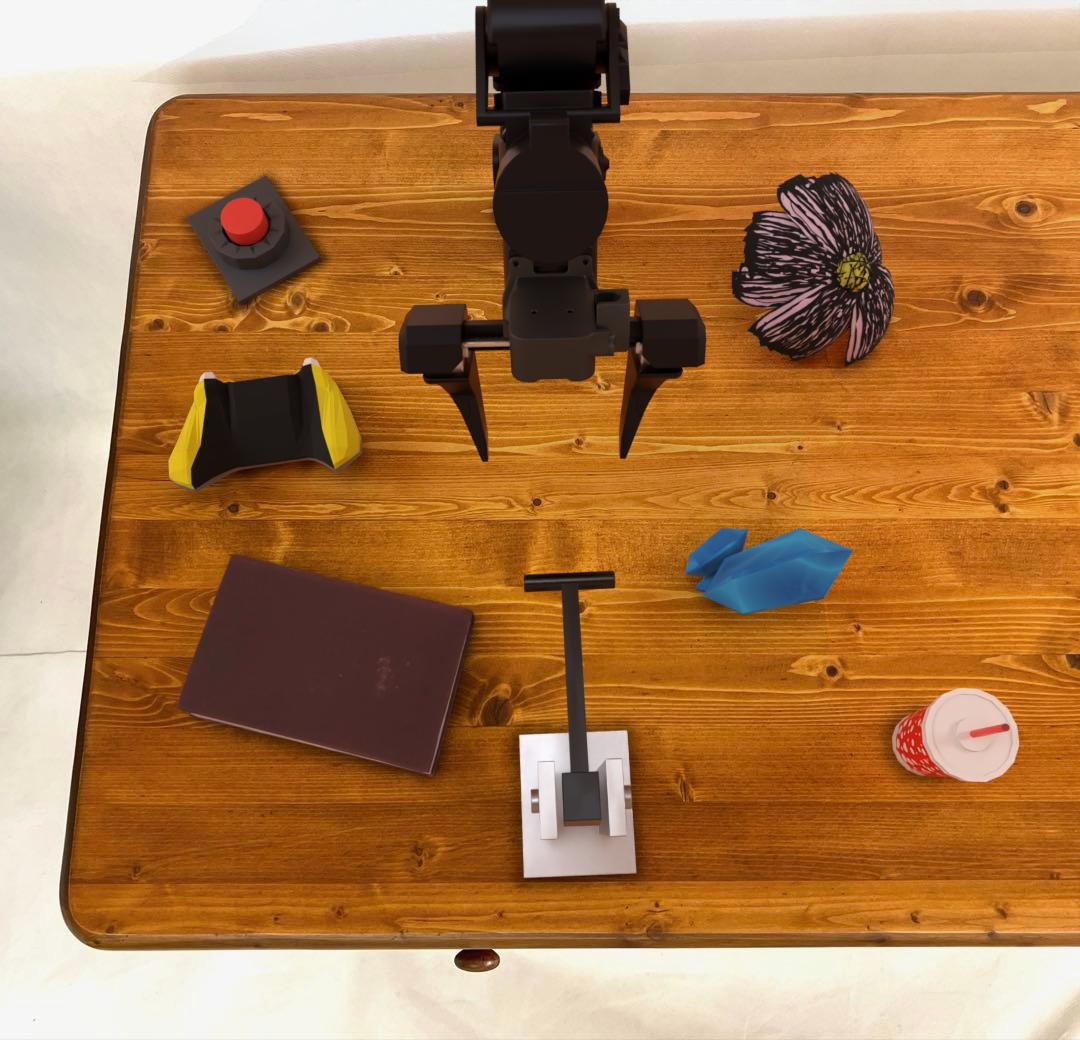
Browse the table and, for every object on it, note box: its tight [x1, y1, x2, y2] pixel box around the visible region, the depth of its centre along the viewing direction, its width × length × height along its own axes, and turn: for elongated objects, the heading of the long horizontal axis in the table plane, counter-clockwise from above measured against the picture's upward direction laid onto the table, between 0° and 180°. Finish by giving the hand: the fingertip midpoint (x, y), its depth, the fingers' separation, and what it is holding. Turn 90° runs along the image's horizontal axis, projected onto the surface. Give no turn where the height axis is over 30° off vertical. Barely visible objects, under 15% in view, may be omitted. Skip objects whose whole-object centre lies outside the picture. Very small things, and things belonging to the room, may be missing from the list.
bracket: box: [518, 729, 637, 879], centre depth 64 cm, size 10×8×16 cm
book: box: [175, 553, 476, 777], centre depth 74 cm, size 12×19×3 cm, turn 76°
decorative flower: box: [731, 171, 895, 368], centre depth 79 cm, size 14×12×15 cm
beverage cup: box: [891, 687, 1020, 783], centre depth 66 cm, size 6×6×14 cm
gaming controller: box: [167, 356, 364, 493], centre depth 78 cm, size 15×6×10 cm
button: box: [221, 198, 268, 245], centre depth 83 cm, size 4×4×2 cm
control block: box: [186, 174, 322, 306], centre depth 85 cm, size 10×8×2 cm
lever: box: [523, 570, 616, 827], centre depth 61 cm, size 16×6×2 cm, turn 2°
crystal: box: [684, 527, 854, 616], centre depth 73 cm, size 7×9×12 cm
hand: (553, 458), depth 66 cm, fingers open, 9 cm apart
